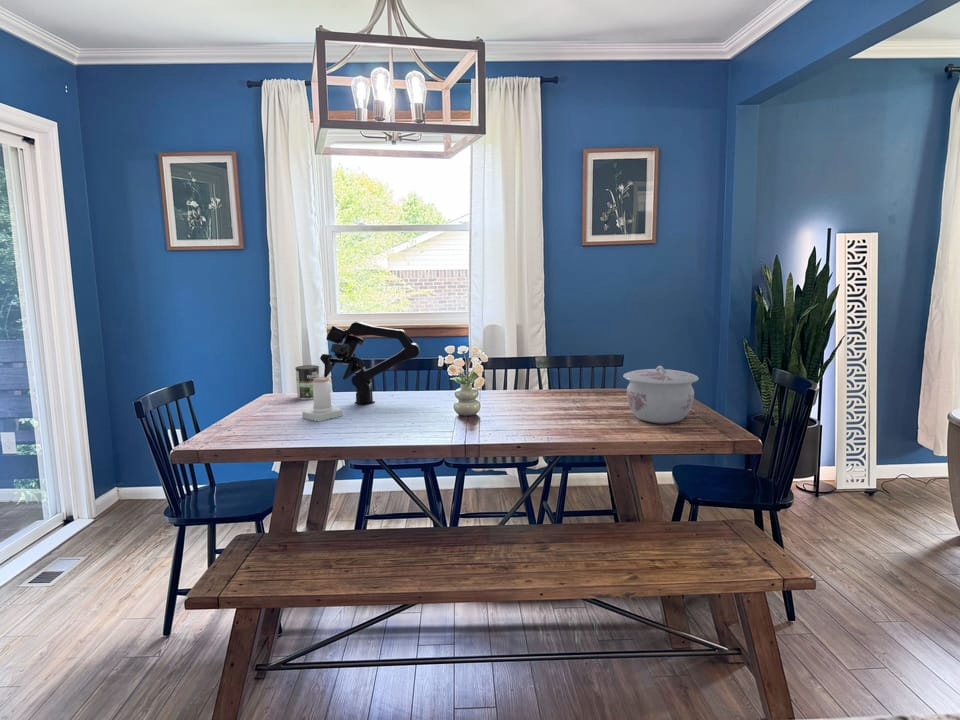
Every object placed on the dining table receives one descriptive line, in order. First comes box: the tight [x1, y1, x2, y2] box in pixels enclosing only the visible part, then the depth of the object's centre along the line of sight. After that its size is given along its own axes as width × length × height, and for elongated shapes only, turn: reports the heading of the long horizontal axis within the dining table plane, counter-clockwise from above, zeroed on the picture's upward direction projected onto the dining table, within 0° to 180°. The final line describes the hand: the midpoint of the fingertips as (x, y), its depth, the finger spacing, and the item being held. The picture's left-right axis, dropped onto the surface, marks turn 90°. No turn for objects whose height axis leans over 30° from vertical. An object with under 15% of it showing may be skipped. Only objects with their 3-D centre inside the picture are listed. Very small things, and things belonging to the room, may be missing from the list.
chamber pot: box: [622, 365, 699, 425], centre depth 239 cm, size 28×28×21 cm
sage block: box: [301, 406, 344, 422], centre depth 252 cm, size 12×10×2 cm
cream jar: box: [312, 376, 333, 413], centre depth 251 cm, size 7×7×13 cm
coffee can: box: [294, 364, 320, 401], centre depth 288 cm, size 10×10×14 cm
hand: (334, 378), depth 261 cm, fingers open, 9 cm apart
